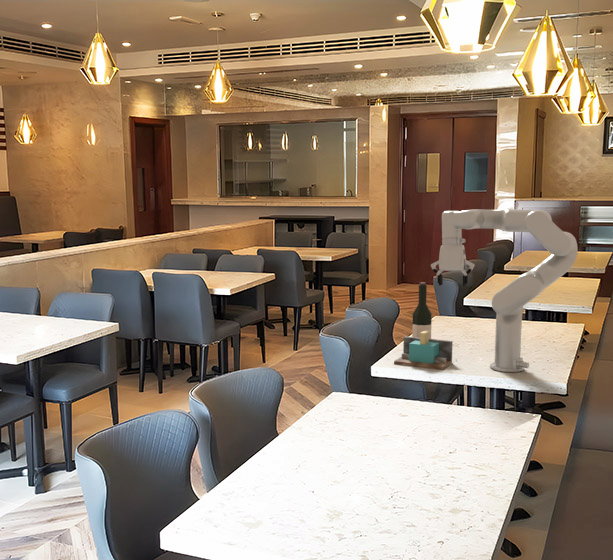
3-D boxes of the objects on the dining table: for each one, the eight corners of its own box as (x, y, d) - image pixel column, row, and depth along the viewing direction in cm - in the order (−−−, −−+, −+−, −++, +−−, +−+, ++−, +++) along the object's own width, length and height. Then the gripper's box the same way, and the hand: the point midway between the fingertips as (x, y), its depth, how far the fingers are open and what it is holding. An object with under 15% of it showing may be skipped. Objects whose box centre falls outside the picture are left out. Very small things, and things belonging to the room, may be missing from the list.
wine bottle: (425, 355, 295) (427, 284, 291) (408, 352, 300) (409, 283, 296) (434, 352, 302) (436, 282, 298) (417, 349, 307) (418, 281, 303)
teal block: (438, 359, 282) (439, 331, 281) (433, 363, 276) (433, 334, 275) (415, 357, 287) (415, 329, 286) (409, 360, 281) (409, 332, 280)
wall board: (451, 363, 282) (452, 341, 281) (442, 369, 271) (443, 346, 270) (404, 357, 291) (405, 336, 290) (394, 363, 281) (394, 341, 280)
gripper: (476, 241, 277) (476, 284, 279) (433, 241, 285) (434, 283, 287) (471, 242, 271) (472, 286, 272) (427, 243, 278) (428, 286, 280)
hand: (452, 285), depth 280 cm, fingers open, 9 cm apart
